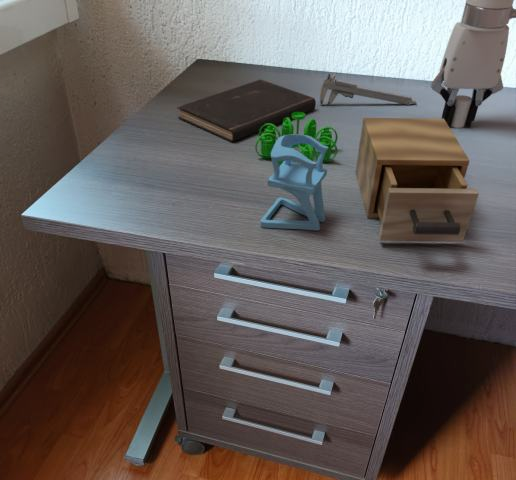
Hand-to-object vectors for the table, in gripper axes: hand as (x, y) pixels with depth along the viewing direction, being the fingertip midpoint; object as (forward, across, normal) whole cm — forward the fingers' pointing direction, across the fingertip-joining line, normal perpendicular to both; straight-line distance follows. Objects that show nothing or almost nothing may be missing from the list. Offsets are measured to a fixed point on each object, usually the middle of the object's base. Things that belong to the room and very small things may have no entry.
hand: (456, 123), depth 103 cm
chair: (0, +33, +36) cm, 49 cm away
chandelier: (0, +32, +14) cm, 35 cm away
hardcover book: (0, +41, -4) cm, 41 cm away
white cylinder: (0, 0, 0) cm, 0 cm away
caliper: (0, +16, -10) cm, 19 cm away
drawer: (-1, +16, +38) cm, 42 cm away
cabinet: (0, +16, +28) cm, 32 cm away
